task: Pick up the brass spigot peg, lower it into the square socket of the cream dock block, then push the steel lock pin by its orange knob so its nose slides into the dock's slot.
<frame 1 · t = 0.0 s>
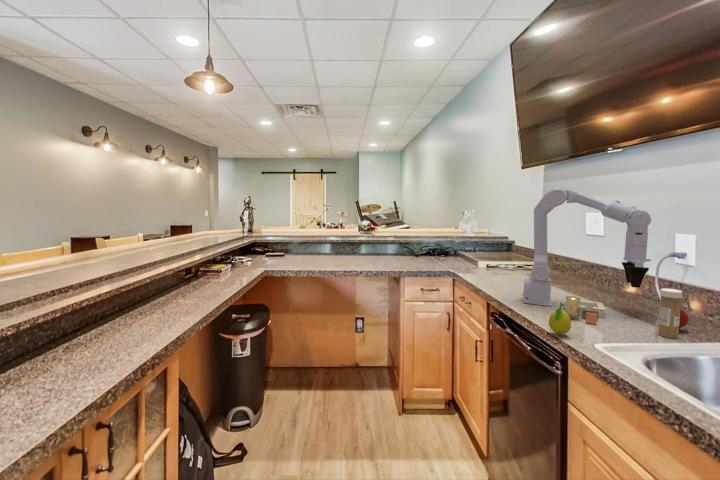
hand: (633, 284, 114), 10 cm above the worktop, fingers open, 7 cm apart
onion: (673, 330, 99), on the worktop
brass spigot: (571, 317, 111), on the worktop
lemon: (558, 335, 96), on the worktop
lock pin: (590, 315, 108), point 2 cm above the worktop, slide at 0.0 cm
dock: (587, 312, 116), on the worktop
sprinkles bottle: (667, 336, 95), on the worktop
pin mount: (589, 318, 110), on the worktop
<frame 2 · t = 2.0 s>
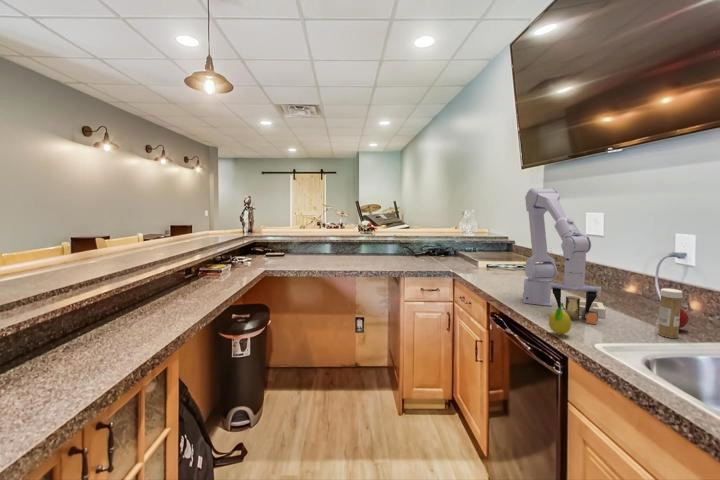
hand: (572, 312, 110), 2 cm above the worktop, fingers open, 7 cm apart
nothing on the worktop moved.
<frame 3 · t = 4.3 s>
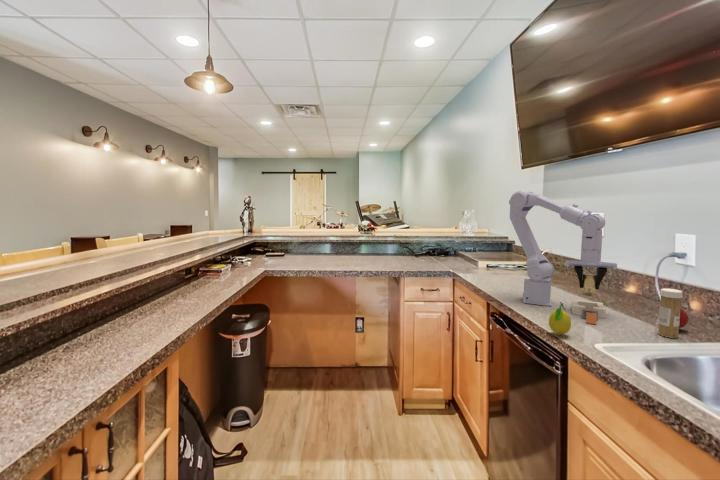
hand: (588, 288, 115), 9 cm above the worktop, fingers closed on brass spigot, 4 cm apart
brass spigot: (588, 294, 115), point 6 cm above the worktop, touching gripper
everything else where it was.
when the fingers open (4 cm above the worktop, at t = 5.8 s): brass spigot drops 1 cm, resting in dock.
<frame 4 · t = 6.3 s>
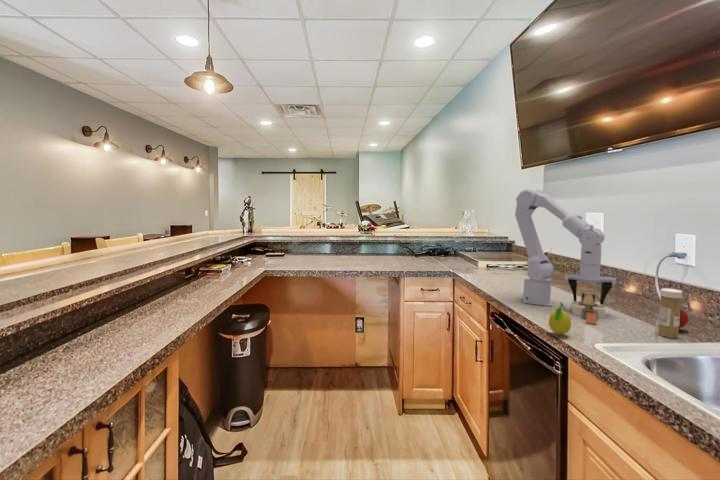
hand: (588, 302, 116), 4 cm above the worktop, fingers open, 7 cm apart
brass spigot: (587, 312, 116), resting in dock
everything else where it was.
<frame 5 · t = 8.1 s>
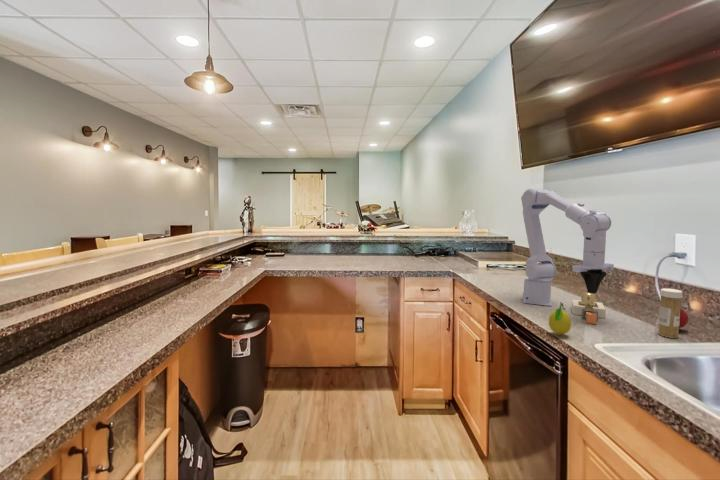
hand: (591, 292, 108), 9 cm above the worktop, fingers closed
nothing on the worktop moved.
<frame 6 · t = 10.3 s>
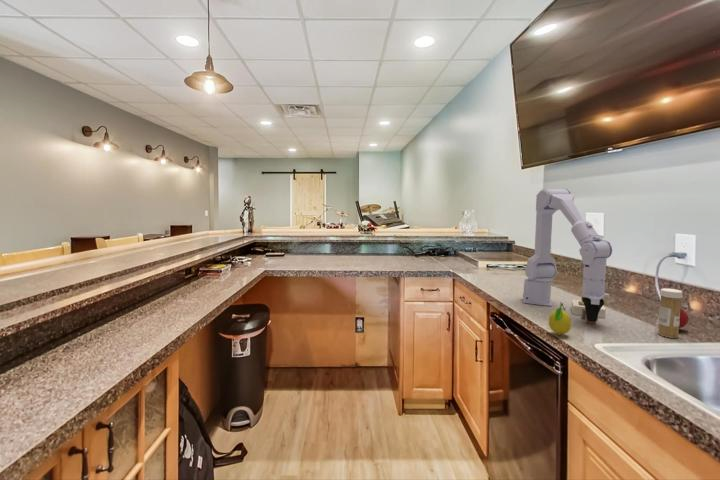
hand: (591, 321, 105), 1 cm above the worktop, fingers closed
lock pin: (590, 315, 109), point 2 cm above the worktop, slide at 1.1 cm, touching gripper
everything else where it was.
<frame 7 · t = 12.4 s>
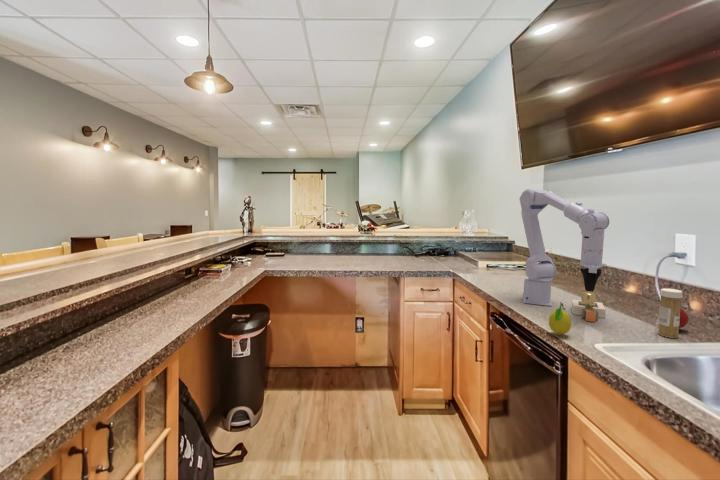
hand: (589, 290, 109), 9 cm above the worktop, fingers closed
lock pin: (589, 314, 110), point 2 cm above the worktop, slide at 2.2 cm
everything else where it was.
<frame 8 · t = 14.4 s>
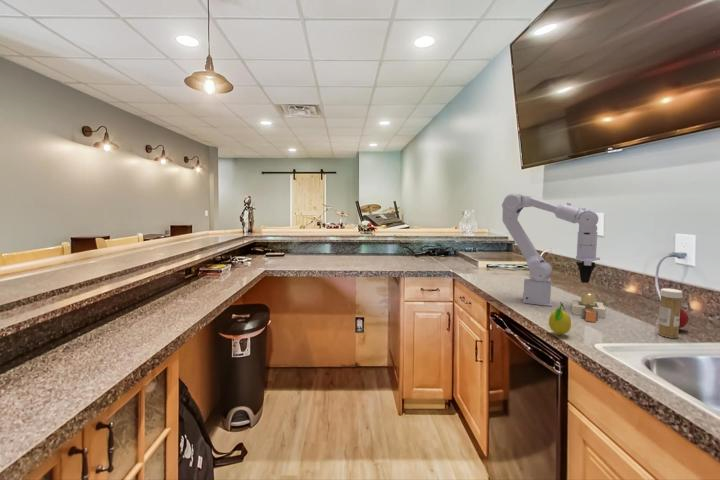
hand: (584, 282, 119), 10 cm above the worktop, fingers closed
nothing on the worktop moved.
at the end: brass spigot 0.1 cm off-centre on the dock, point 0.0 cm above the dock's base; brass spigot tilted 0°; lock pin slide at 2.2 cm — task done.
